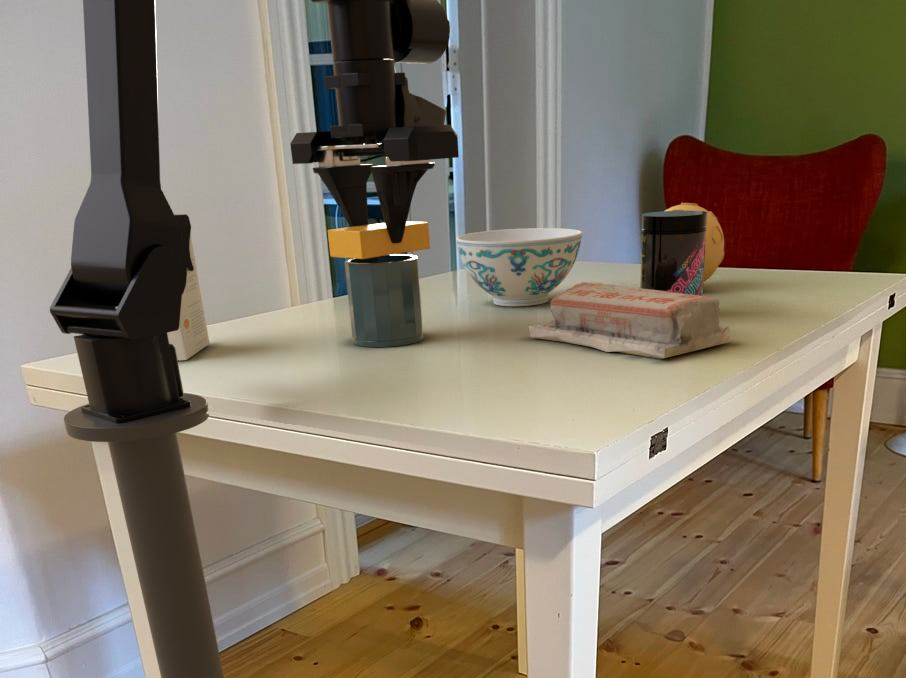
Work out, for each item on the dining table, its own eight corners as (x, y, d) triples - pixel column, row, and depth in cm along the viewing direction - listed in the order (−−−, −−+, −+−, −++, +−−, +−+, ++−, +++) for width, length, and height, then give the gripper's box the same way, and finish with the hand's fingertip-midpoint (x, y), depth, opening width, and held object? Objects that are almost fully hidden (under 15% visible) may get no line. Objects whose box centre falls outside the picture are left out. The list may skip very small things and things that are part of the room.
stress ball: (640, 296, 121) (642, 207, 116) (643, 284, 129) (645, 201, 125) (723, 294, 119) (729, 204, 114) (721, 282, 128) (726, 198, 123)
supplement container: (651, 324, 104) (655, 217, 99) (630, 314, 110) (632, 213, 105) (711, 319, 105) (718, 213, 100) (687, 310, 111) (692, 209, 106)
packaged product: (737, 290, 91) (666, 306, 85) (733, 344, 93) (664, 362, 88) (595, 276, 103) (526, 289, 98) (595, 323, 106) (527, 339, 100)
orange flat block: (362, 259, 95) (359, 231, 94) (330, 256, 98) (327, 229, 97) (430, 248, 101) (428, 222, 99) (397, 246, 104) (395, 221, 103)
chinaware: (447, 299, 126) (443, 234, 123) (558, 289, 129) (557, 225, 126) (477, 316, 113) (474, 244, 110) (600, 305, 116) (600, 234, 113)
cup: (384, 350, 99) (377, 265, 95) (339, 342, 103) (330, 261, 100) (437, 337, 103) (432, 256, 100) (391, 331, 108) (385, 253, 104)
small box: (153, 347, 106) (127, 215, 100) (211, 345, 106) (189, 212, 100) (125, 363, 99) (96, 222, 93) (187, 360, 99) (162, 219, 93)
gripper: (496, 54, 91) (502, 236, 98) (366, 69, 103) (380, 231, 110) (406, 53, 84) (419, 249, 91) (277, 69, 96) (299, 242, 103)
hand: (379, 242), depth 99 cm, fingers closed on orange flat block, 5 cm apart
